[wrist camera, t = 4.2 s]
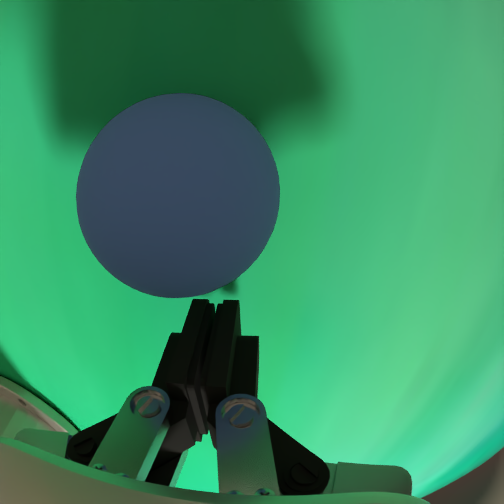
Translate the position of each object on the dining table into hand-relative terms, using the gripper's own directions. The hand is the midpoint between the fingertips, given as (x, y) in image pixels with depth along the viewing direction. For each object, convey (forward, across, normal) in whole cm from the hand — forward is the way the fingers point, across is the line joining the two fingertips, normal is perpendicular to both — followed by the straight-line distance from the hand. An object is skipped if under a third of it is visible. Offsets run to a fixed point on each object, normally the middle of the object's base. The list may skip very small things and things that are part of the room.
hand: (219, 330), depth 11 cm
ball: (-1, +1, -6) cm, 6 cm away
